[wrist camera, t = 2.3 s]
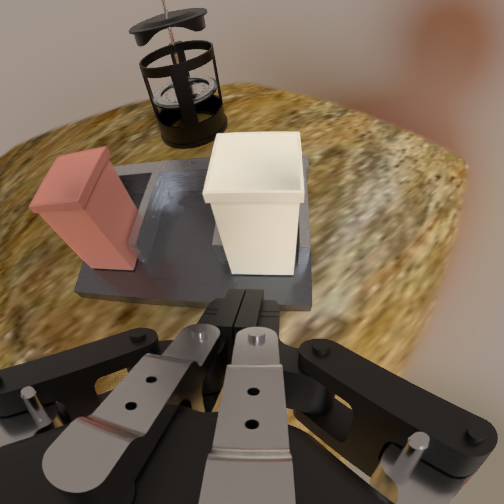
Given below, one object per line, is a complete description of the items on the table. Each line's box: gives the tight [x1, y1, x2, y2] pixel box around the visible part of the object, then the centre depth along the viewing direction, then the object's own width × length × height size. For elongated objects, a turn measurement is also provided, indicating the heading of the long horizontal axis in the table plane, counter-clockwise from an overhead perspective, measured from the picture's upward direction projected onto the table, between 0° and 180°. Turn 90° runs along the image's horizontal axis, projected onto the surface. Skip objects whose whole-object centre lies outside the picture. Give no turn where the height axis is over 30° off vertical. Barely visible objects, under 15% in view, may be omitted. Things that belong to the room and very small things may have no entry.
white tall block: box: [202, 132, 305, 275], centre depth 21 cm, size 5×5×10 cm
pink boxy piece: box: [29, 146, 138, 270], centre depth 22 cm, size 5×5×10 cm
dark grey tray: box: [74, 156, 312, 311], centre depth 26 cm, size 14×22×4 cm, turn 87°
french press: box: [129, 0, 228, 149], centre depth 28 cm, size 12×9×23 cm
